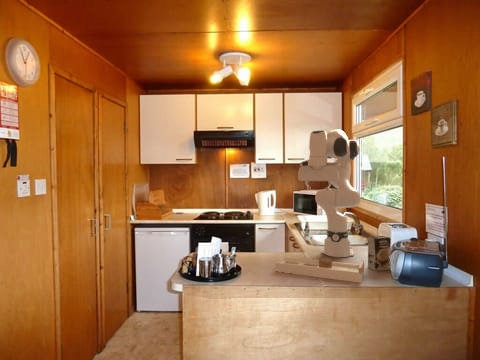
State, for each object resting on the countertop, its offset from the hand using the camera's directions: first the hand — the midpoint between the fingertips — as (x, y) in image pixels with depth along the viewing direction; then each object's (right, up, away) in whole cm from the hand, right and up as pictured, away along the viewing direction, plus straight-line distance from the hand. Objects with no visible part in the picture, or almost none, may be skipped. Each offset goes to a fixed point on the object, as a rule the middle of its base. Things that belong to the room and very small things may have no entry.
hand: (318, 190), depth 169 cm
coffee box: (+31, -40, +2) cm, 51 cm away
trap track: (-1, -40, -5) cm, 41 cm away
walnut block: (+2, -37, -6) cm, 38 cm away
